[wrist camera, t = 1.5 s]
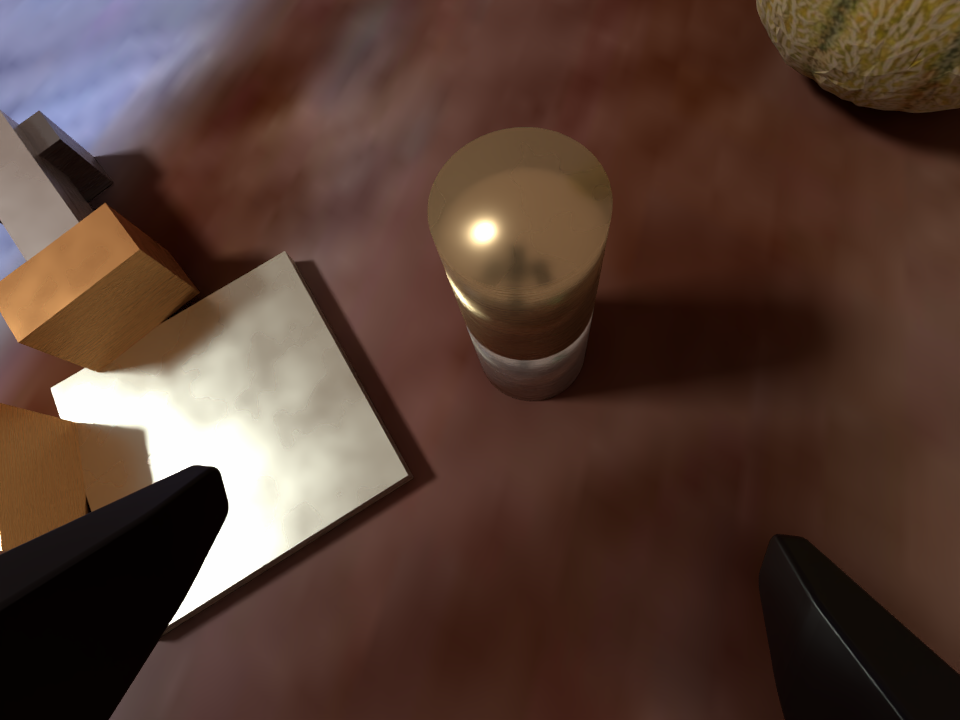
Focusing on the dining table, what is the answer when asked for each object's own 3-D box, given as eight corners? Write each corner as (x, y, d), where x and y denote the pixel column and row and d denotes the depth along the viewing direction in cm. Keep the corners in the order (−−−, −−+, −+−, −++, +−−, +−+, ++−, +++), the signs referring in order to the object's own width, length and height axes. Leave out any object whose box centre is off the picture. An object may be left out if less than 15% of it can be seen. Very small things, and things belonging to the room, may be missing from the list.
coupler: (515, 421, 23) (487, 322, 13) (460, 336, 25) (395, 185, 14) (606, 364, 23) (651, 222, 13) (546, 283, 25) (544, 98, 15)
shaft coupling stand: (-137, 823, 21) (-333, 903, 17) (-213, 325, 29) (-360, 283, 24) (413, 477, 23) (378, 461, 18) (201, 94, 31) (139, 13, 26)
